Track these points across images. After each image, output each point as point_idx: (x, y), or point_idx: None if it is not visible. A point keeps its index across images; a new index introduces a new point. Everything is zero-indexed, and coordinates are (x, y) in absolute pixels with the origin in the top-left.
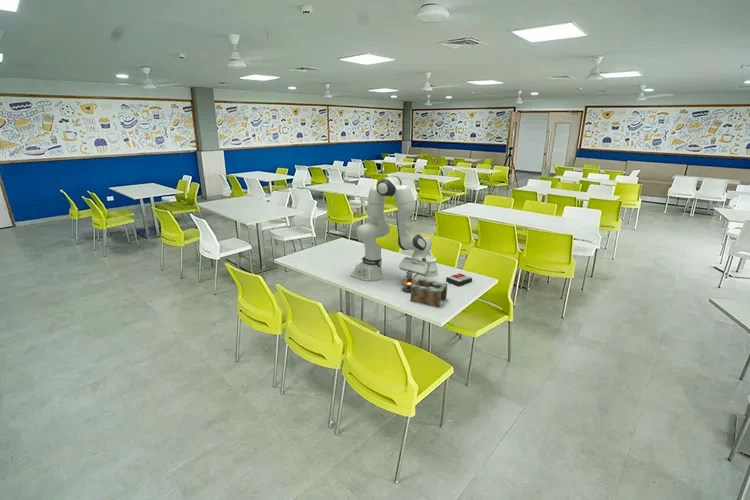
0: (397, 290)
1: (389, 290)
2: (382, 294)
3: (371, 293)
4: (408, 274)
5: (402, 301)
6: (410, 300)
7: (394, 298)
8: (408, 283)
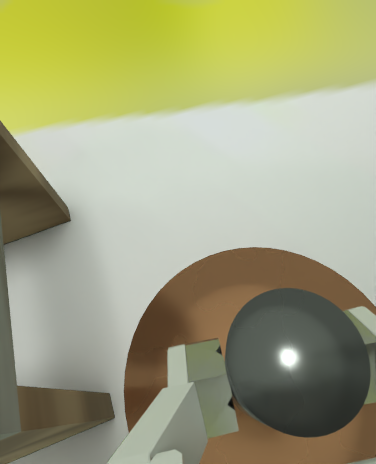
0: None
1: (354, 214)
2: (306, 128)
3: (365, 86)
4: (275, 293)
5: (111, 161)
6: (65, 204)
7: (190, 150)
8: (204, 294)
